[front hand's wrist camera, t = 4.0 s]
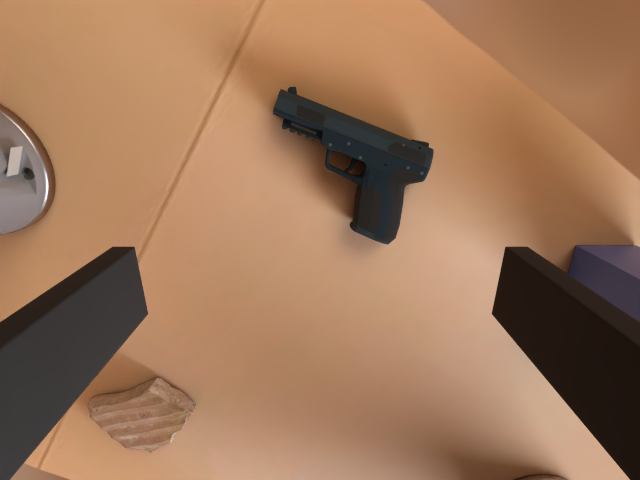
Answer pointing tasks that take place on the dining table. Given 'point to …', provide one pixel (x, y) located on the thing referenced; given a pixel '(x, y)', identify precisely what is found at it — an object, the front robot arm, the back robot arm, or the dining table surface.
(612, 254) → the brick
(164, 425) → the stone
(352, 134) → the handgun
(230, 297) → the dining table surface
